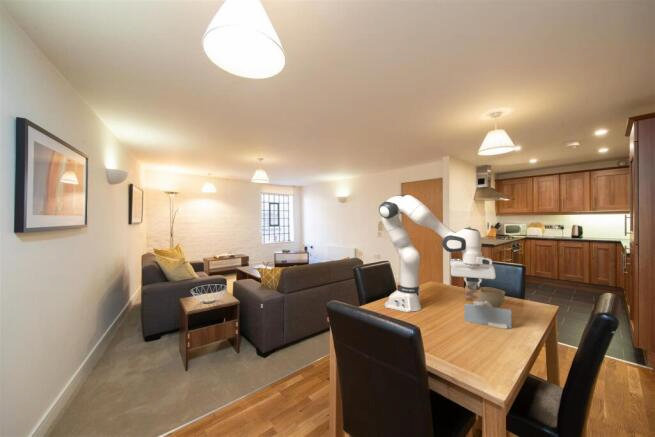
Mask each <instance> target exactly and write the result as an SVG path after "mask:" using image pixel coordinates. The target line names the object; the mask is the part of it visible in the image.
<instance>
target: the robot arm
mask: <svg viewBox="0 0 655 437" xmlns="http://www.w3.org/2000/svg"><path fill="white" fill-rule="evenodd" d="M378 213H379V215H380V216H381V222H382V224H383V227H384V229H385V231H386V233H387V235H388V237H389V239H390V241H391V243H392V245H393V247H394V248H395V251H396V252H397V254H398V256H399V258H400V270H399V271H400V272H399V279H400V280H399V281H400V282H399V283H398V284H397V286H396V290H394V292H392V293H390V295H389V297H388V300H387V301H385V303H384V307H385V308H386V309H390V310H391V309H392V310H396V311H399V312H405V313H410V312H418V311H421V310H422V306H421V300H420V286H419V270H420V259H421V258H420V256H421V255H420V252H419V251H418V249H416V248H415V246H414V245H413V243H412V241H411V238H410V236H409V233H408V232H407V230H406V228H405V227H404V225H403V222H402V221H401V219H400V214H405V215H406V216H407V217H408V218H409V219H410V220H411V221H412V222H413V223H415V224H416V225H419V226H423V227H426V228H429V229H431V230H432V231H433V232H435V233H436V234H438V235H439V236H440V237H441V238H442V243H441V245H442V248H443V249H444V250H445V251H447V252H449V253H458V252H461V256H462V258H452V259H450V260H449V265H450V275H451V276H452V277H458V278H463V280H464V282H465V286H469V281H468V279H467V278H472V279H473V278H474V279H478V281H477V282H476V287H480V284H481V283H482V280H483V279H485V280H495V279H496V278H497V275H496V269H495V266H494V265H493V259H491V258H490V257H487V256H486V257H485V256H483V252H482V243H483V242H482V235H481V231H480V230H478V229H476V228H472V227H471V228H470V227H464V228H462V229H460V230H459V231H457V232H456V231H453V230H452V229H450V228H449V227H447V225H445V224H444V223H443V222H442V221H441V220H439V218H437V217H436V216H435V215H434V213H433V212H432V211H431V210H430V209H429V208H428V207H427V205H425V204H424V203H423V202H422V201H421V200H419V199H417V198H416V197H415V196H413V195H410V194H407V195H405V194H397V195H395V196H392V197H389V198H388V199H387V200H386V201H383V202H382V203H381V204H380V205H379V207H378Z"/></svg>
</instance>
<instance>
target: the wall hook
mask: <svg viewBox="0 0 655 437" xmlns="http://www.w3.org/2000/svg"><path fill="white" fill-rule="evenodd" d="M472 305H480V306H488V307H492V305H491V304H490V303H489V302H488V301H484V303H483V302H482V301H481V302H477V301H472Z"/></svg>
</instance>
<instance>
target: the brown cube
mask: <svg viewBox="0 0 655 437" xmlns="http://www.w3.org/2000/svg"><path fill="white" fill-rule="evenodd" d="M468 282H469V286H466V285H465V286H464V292H465V293H464V297H465V298H464V299H465V300H464V301H470V302H473V301H477V302H481V288H480V287H481V286H479V287H476V283H477V281H476V280H475V279H474V280H471V279H469V280H468Z"/></svg>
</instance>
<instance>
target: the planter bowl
mask: <svg viewBox="0 0 655 437" xmlns="http://www.w3.org/2000/svg"><path fill="white" fill-rule="evenodd" d="M479 287H480V288H481V301H482V302H483V303H484V301H488V302H489V303H490V304H491V305H492V307H495V308H500V307H501V306H502V305H503V303H504V301H505V295H506V291H504V290H502V289H499V288H496V287H495V288H494V287H488V286H479Z"/></svg>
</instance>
